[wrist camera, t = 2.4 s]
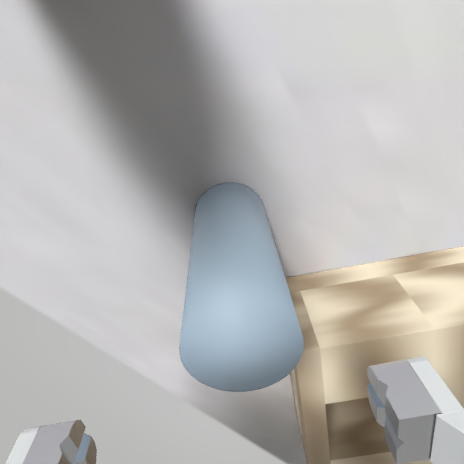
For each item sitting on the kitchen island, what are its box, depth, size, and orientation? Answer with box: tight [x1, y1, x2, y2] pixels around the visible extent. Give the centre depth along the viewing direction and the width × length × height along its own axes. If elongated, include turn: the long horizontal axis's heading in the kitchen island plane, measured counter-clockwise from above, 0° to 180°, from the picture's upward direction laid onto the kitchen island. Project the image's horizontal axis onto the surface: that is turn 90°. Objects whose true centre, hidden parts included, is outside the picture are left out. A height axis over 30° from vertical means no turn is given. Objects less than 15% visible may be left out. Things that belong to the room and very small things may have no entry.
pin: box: [179, 183, 304, 392], centre depth 16 cm, size 4×4×10 cm
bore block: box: [286, 246, 464, 464], centre depth 23 cm, size 14×14×6 cm
